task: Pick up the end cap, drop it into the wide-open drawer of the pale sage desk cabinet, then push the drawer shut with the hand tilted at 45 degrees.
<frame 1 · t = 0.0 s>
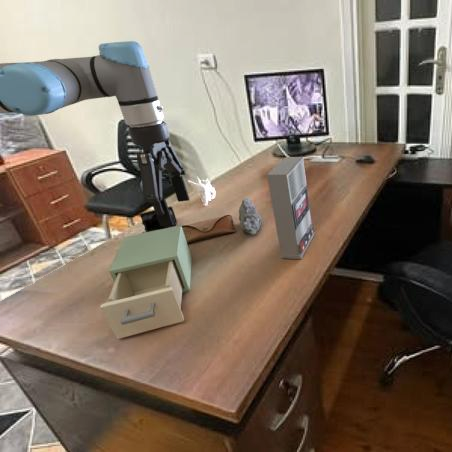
hand: (176, 212, 85), 19 cm above the table, tool pointing down, fingers open, 13 cm apart
cassette tape recorder: (299, 246, 103), on the table
drawer: (147, 297, 79), point 5 cm above the table, slide at 11.0 cm
cabinet: (162, 279, 94), on the table
sunglasses case: (208, 234, 114), on the table
white figurine: (205, 200, 140), on the table
mineral rock: (249, 229, 115), on the table
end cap: (162, 229, 121), on the table
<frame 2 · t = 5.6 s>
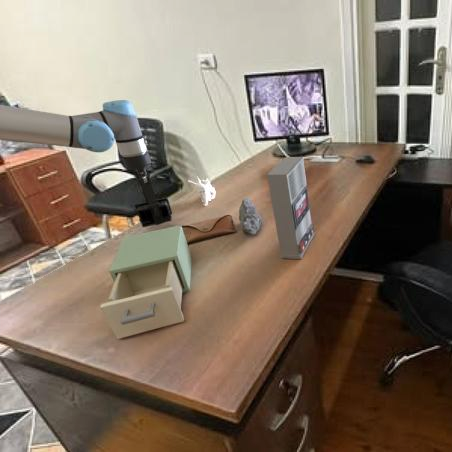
hand: (157, 219, 118), 4 cm above the table, tool pointing down, fingers closed on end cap, 8 cm apart
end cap: (157, 220, 119), point 3 cm above the table, touching gripper
everything else where it was.
when the fingers open (8 cm above the table, at t = 12.7 s): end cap stays where it is, resting on drawer.
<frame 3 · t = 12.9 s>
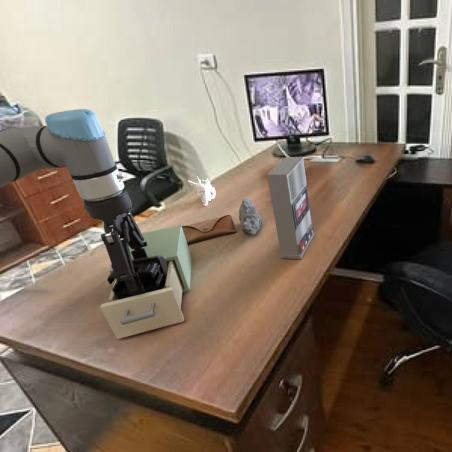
hand: (144, 285, 78), 8 cm above the table, tool pointing down, fingers open, 9 cm apart
drawer: (147, 297, 79), point 5 cm above the table, slide at 11.0 cm, touching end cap
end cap: (144, 287, 79), point 8 cm above the table, touching drawer
everything else where it was.
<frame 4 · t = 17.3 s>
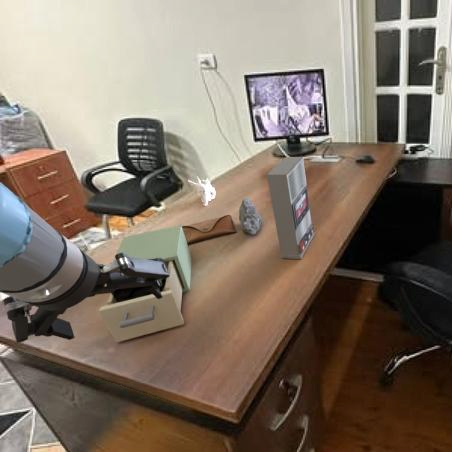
hand: (115, 310, 58), 17 cm above the table, tool tilted 40°, fingers open, 13 cm apart
drawer: (147, 300, 78), point 5 cm above the table, slide at 12.0 cm, touching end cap
everything else where it was.
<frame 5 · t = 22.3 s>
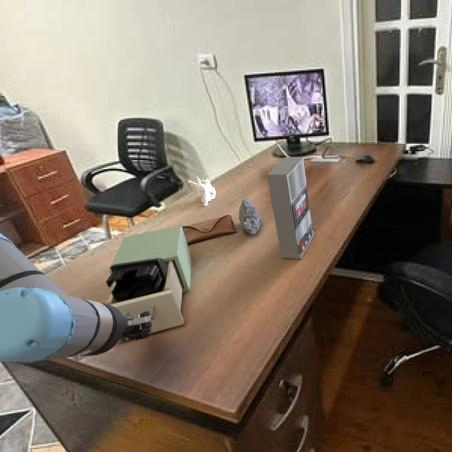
hand: (143, 331, 71), 4 cm above the table, tool tilted 45°, fingers closed
drawer: (147, 300, 78), point 5 cm above the table, slide at 12.0 cm, touching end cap, gripper
everything else where it was.
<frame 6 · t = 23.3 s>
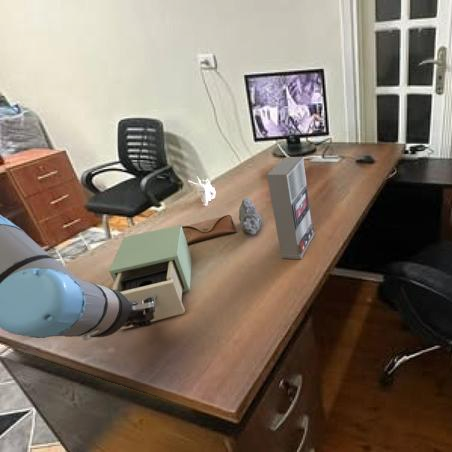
hand: (146, 319, 75), 4 cm above the table, tool tilted 45°, fingers closed
drawer: (149, 290, 81), point 5 cm above the table, slide at 8.2 cm, touching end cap, gripper
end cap: (155, 298, 83), point 2 cm above the table, touching drawer
everything else where it was.
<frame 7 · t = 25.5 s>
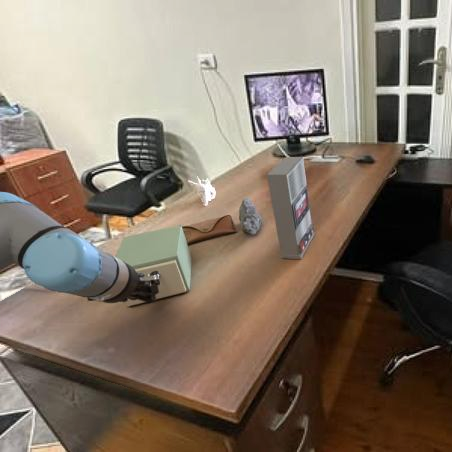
hand: (151, 296, 82), 4 cm above the table, tool tilted 45°, fingers closed
drawer: (153, 271, 88), point 5 cm above the table, slide at 0.0 cm, touching cabinet, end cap, gripper
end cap: (159, 278, 90), point 2 cm above the table, touching drawer
everything else where it was.
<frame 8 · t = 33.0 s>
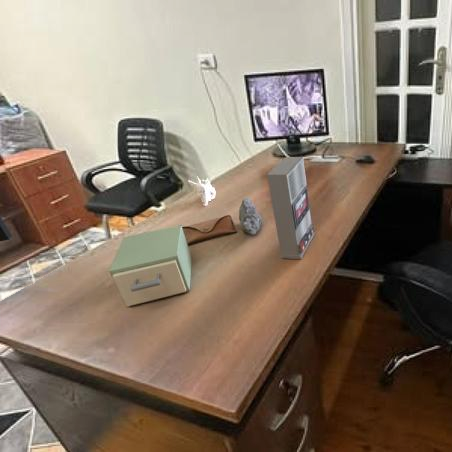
hand: (2, 239, 68), 24 cm above the table, tool pointing down, fingers closed
drawer: (153, 271, 88), point 5 cm above the table, slide at 0.0 cm, touching cabinet, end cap
everything else where it was.
at the end: drawer slide at 0.0 cm; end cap inside the target area in the cabinet (3.0 cm from its centre), point 2.3 cm above the cabinet's base; the gripper is holding nothing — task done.
